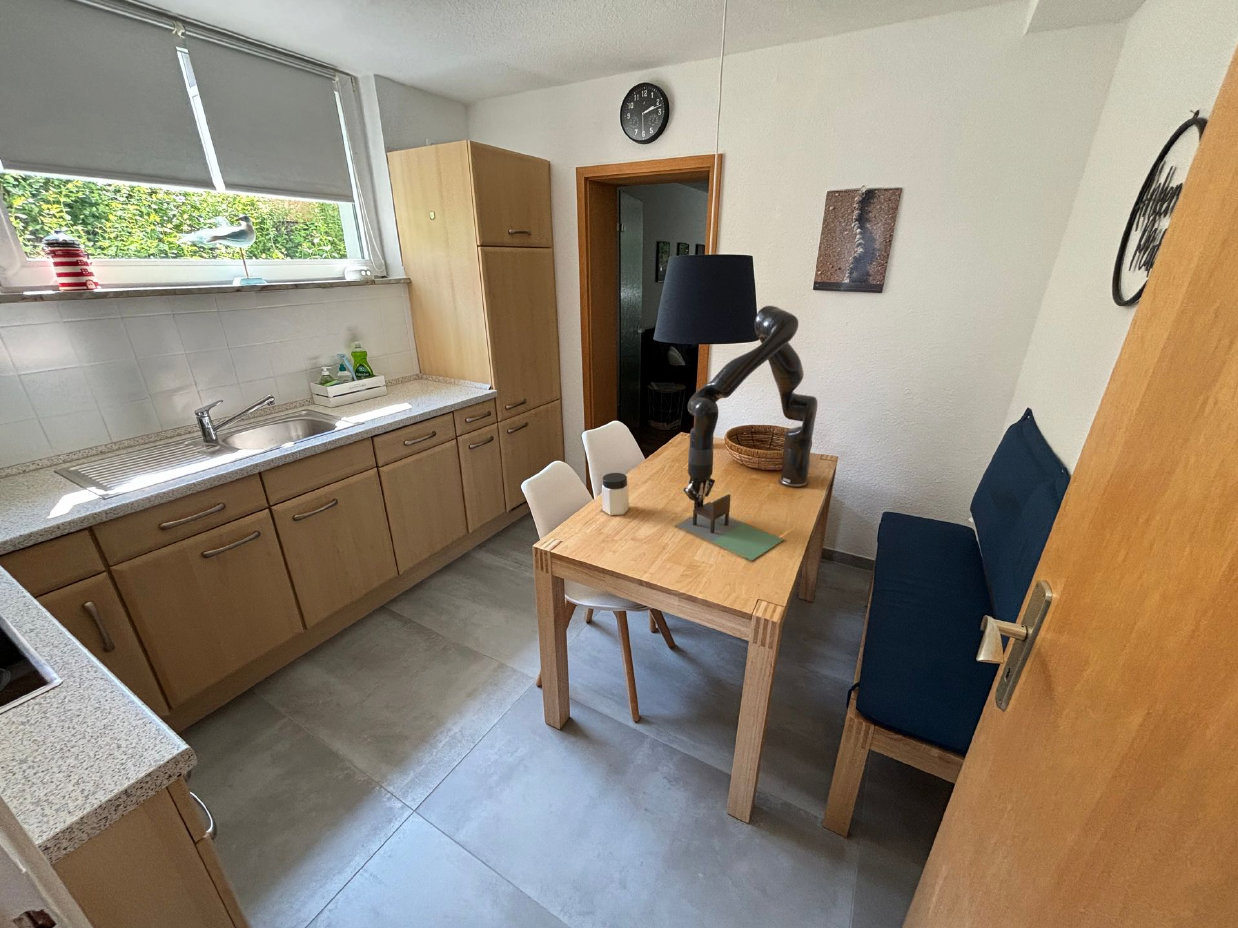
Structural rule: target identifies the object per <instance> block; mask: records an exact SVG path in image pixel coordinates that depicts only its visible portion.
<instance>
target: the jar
mask: <svg viewBox="0 0 1238 928" xmlns="http://www.w3.org/2000/svg"><path fill="white" fill-rule="evenodd" d="M629 487H630V486H629V483H628V475H626V474H624V473H621V472H609V473H607V474H605V475H603V476H602V485H601V500H602V501H601V503H602V511H603V512H604V513H606V514H607V515H609V516H619V515H620V516H621V515H625V514H626V512H628V510H629V509H630V494H629V493H630V492H629V491H630V489H629Z"/></svg>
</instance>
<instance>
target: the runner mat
mask: <svg viewBox="0 0 1238 928" xmlns="http://www.w3.org/2000/svg"><path fill="white" fill-rule="evenodd" d="M676 527H679V528H681V529H683V530H684V531H687V532H689V533H691V534H694V535H696V536H698V537H700V538H703V539H705V540H707V541H708V542H711V543H713V544H715V545H718V546H719V547H721V548H724V549H726V550H728V551H730V552H732V553H735V554H737V555H739V556H742V557H744V558H745V559H746V560H749V561H751V562H753V561H755V560H756V559H757V558H759V557H761V556H762V555H763V554H765V553H766V552H768V551H770V550H771V549H773V548H774V547H775V546H777V545H779V544H780V543H781V542H783V541H784V539H783V538H781V537H778V536H775V535H773V534H770V533H768V532H766V531H763V530H761V529H758V528H755V527H753V526H751V525H749V524H747V523H743V522H741V521H740V520H739V521H738V520H736V519H734V518H732V517H729V524H728V525H727V526H726V525H725V515H723V516H721V517H719V518H717V519H716V520H715V529H714V533H713V534H712V533H710V530H711V519H708V518H706V517H704V516H701V515H699V514H697V525H693V516H692V517H690V518H689V519H686V520H684V521H682V522H680V523H678V524H676Z"/></svg>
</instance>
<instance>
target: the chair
mask: <svg viewBox="0 0 1238 928" xmlns="http://www.w3.org/2000/svg"><path fill="white" fill-rule="evenodd" d="M731 498H732V497H731V494H729V493H728V494H726V495H724V496H721V497H719V498H718V499H716V500H713V501H712V502H711V501H708V502H706V503H703V505H702V506H700V507H698V508H696V509H694V508H693V509H692V517H693V525H697V515H698V514H699V515H701V516H704V517H706V518H708V519H711V530H710V533H712V534H713V533H714V529H715V520H716V519H717V518H719V517H721V516H723V515H724V516H725V525H726V526H727V525H728V524H729V518H730V511H731V509H730V508H731Z"/></svg>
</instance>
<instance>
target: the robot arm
mask: <svg viewBox="0 0 1238 928" xmlns="http://www.w3.org/2000/svg"><path fill="white" fill-rule="evenodd" d="M798 328H799V319H798V317H797V316H796V315H794V314H793V313H792V312H788V311H786V310H784V309H783V308H780V307H778V306H775V305H766V306H763V307H762V308H760V309H759V310H758V312H757V314H756V315H755V318H754V331H755V333H756V336H757V337H758V339H759V341H760V344H759V345H758V346H757V347H755V348H753V349H752V350H750V351H748V352H746V353H744V354H742V355H740V356H738V357H735V358H733V359H732V360H730V361H729V362H727V363H726V364H725V365H724V366H723V367H722V368H721V370H720V371H719V372H718V373H717V374H716V375H715V376H714V377H713V379H711V380H710V381H709V382H708V383H706V384H705V385H704V386H702V387H701V388H699V389H698V390H697V391H695V392H694V394H693V395H691V397H690V399H689V401H688V402H687V411H688V413H689V414H690V415H691V416H692V417H694V418H695V423H694V426H693V427H691V429H690V432H689V448H688V457H687V474H688V475H689V481H688V486H687V487H683V493H684V494H685V495H686V496H687V497H688V499H689V500H691V501H693V509H696V508H698V507H700V506H702V505H704V501H705V499H706V498H708V497H709V496H710V493H711V491H712V490H713V487H714V485H715V482H716V480H715V479H713V478H711V476H712V475H713V470H714V469H713V468H714V467H713V466H714V433H715V430H716V427H717V424H718V420H719V406H718V403H717V402H718V401H719V400H721V399H727V398H729V397H730V396H731V395H732V394H734V392H735V391H736V390H737V389H738V388H739V387H740V386H741V384H742V383H743V382H744V381H745V380H746V379H747V378H748V377H749V376H750V375H751V374H752V373H753V372H754V371H756V370H757V369H758V368H759V367H760V366H762V365H763V364H765V362H767V361H768V364H769V366H770V370H771V373H772V376H773V379H774V382H775V384H776V388H777V389H778V390H777V391H778V393H779V399H780V405H781V410H782V413H783V416H784V417H785V418H786V419H788V420H791V421H796V422H801V423H802V424H801V425H800V426H795V427H790V428H788V429H786V430H785V432H784V433H785V434H784V441H783V442H784V443H783V444H784V445H783V451H782V452H783V453H782V463H781V473H780V480H779V482H780V483H781V484H782V485H784V486H787V487H789V488H802V487H805V486H806V485H808V477H809V469H810V463H811V462H810V461H811V451H812V450H811V449H812V441H813V434H814V431H815V430H814V429H815V423H816V418H817V412H818V399H817V397H816V396H813V395H808V394H800V393H799V394H798V393H795V392H794V391H795V390H796V389H797V388H798V387H799V386H800V384H801V383H802V381H803V379H804V376H805V373H804V367H803V363H802V360H801V358H800V356H799V354H798V353H797V352H796V350H795V349H794V348H793V346H792V345H791V344H790V341H791V340H792V339H793V338H794V337H795V336H796V334H797V332H798V330H799V329H798Z"/></svg>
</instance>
